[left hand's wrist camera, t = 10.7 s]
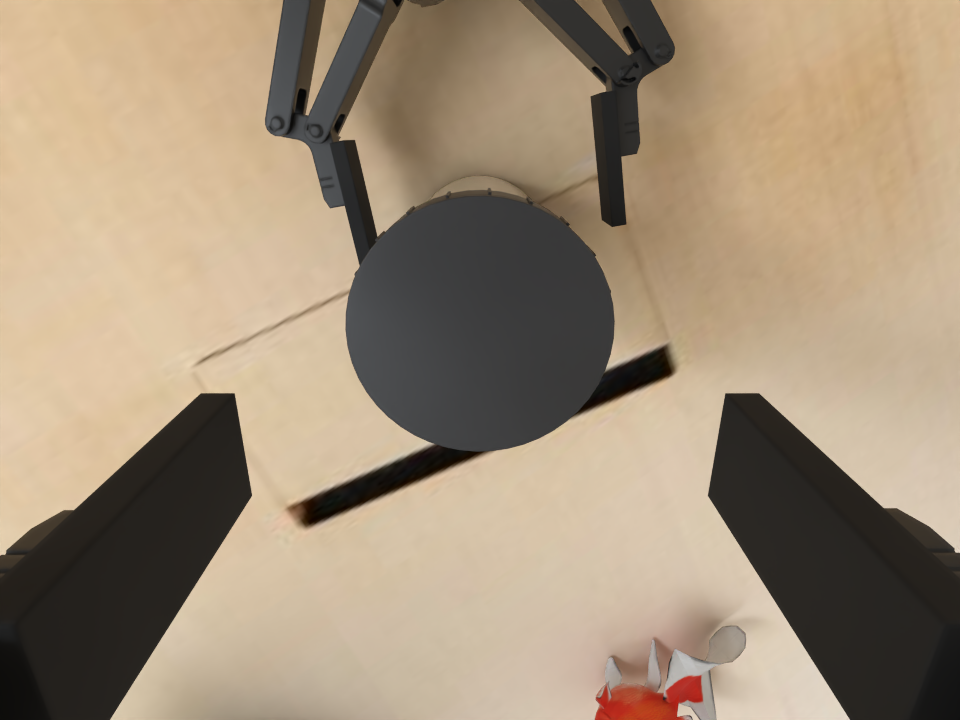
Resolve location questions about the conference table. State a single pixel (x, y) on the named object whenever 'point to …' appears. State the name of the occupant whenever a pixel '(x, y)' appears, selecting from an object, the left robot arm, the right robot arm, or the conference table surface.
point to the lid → (480, 321)
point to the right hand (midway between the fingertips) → (491, 243)
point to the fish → (670, 683)
